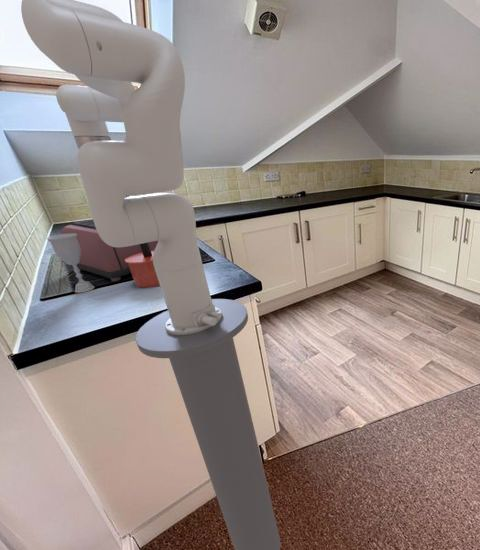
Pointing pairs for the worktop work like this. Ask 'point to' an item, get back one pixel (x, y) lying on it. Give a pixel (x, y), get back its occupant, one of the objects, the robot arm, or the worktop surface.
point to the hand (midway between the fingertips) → (117, 208)
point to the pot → (144, 274)
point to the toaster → (102, 252)
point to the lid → (141, 255)
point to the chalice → (70, 256)
